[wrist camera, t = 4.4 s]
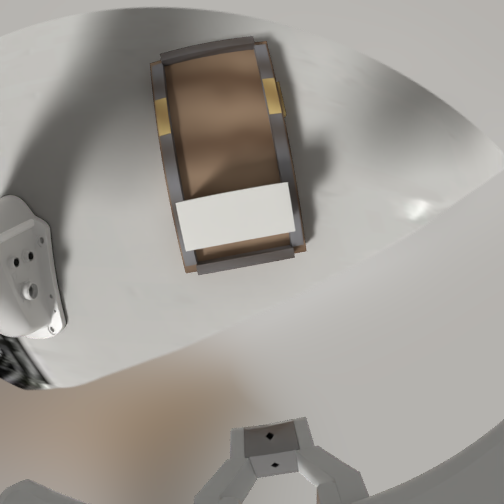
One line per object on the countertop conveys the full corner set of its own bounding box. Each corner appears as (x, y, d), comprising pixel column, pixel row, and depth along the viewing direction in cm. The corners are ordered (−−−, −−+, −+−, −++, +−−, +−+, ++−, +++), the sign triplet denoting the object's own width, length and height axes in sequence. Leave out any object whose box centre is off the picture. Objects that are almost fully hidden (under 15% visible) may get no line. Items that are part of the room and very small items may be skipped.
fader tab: (283, 222, 28) (295, 231, 22) (196, 238, 28) (185, 251, 22) (276, 183, 27) (287, 182, 21) (188, 199, 27) (175, 203, 21)
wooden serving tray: (304, 246, 31) (312, 253, 27) (188, 267, 31) (183, 277, 27) (267, 48, 25) (270, 34, 22) (154, 70, 25) (146, 58, 21)
